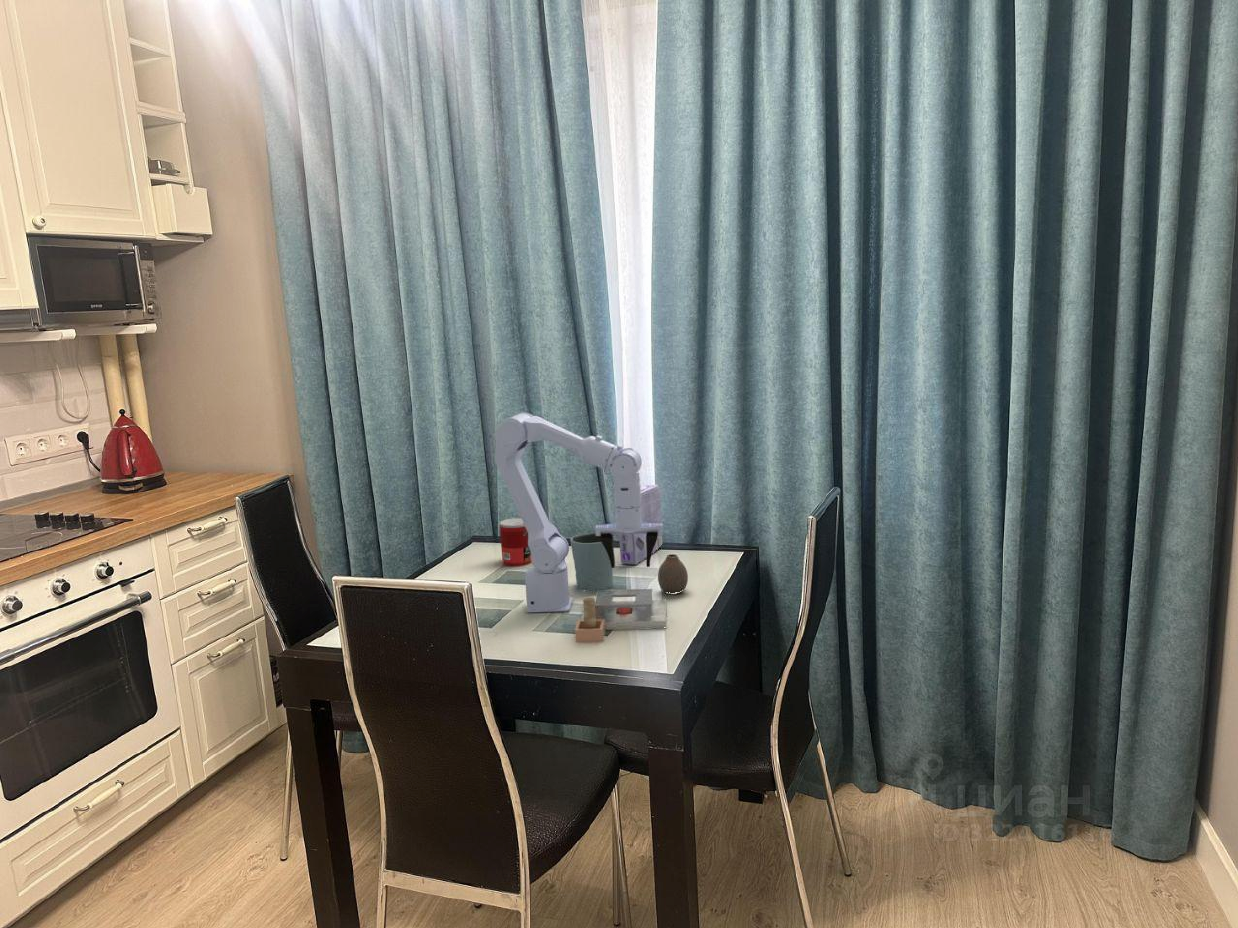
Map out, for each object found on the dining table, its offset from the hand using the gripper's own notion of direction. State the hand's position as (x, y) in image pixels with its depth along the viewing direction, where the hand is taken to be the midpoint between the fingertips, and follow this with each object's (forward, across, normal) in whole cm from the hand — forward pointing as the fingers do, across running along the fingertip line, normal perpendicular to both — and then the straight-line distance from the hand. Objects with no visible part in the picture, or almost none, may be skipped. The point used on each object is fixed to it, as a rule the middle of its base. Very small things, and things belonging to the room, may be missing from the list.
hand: (630, 566), depth 200 cm
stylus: (+10, -8, -16) cm, 20 cm away
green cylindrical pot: (+10, -10, +17) cm, 22 cm away
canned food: (+10, -32, +38) cm, 51 cm away
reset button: (+10, -2, -6) cm, 11 cm away
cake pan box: (+10, +1, +41) cm, 42 cm away
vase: (+10, +9, +11) cm, 17 cm away
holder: (+10, -8, -16) cm, 20 cm away
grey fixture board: (+10, -2, -6) cm, 11 cm away
